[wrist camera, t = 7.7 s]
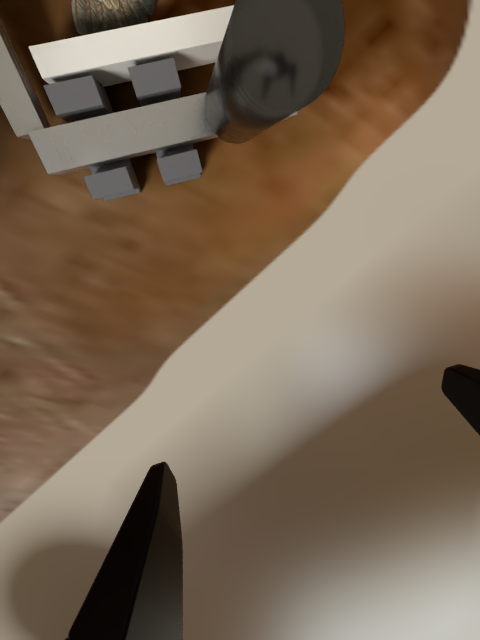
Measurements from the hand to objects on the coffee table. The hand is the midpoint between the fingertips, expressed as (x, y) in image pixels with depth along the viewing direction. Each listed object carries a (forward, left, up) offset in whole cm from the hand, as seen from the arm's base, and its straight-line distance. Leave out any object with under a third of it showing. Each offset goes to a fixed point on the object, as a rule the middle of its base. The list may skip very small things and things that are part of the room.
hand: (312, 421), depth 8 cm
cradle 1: (-5, +9, -13) cm, 17 cm away
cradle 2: (-1, +9, -13) cm, 16 cm away
